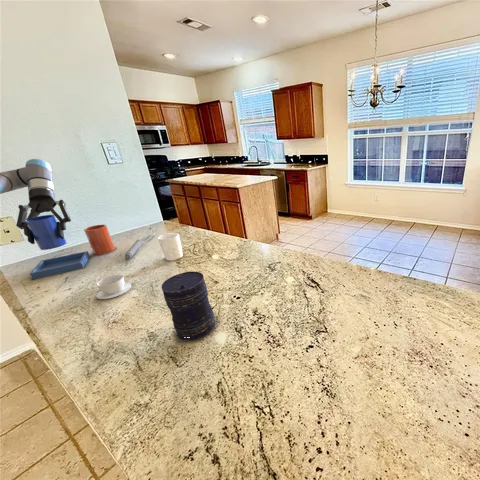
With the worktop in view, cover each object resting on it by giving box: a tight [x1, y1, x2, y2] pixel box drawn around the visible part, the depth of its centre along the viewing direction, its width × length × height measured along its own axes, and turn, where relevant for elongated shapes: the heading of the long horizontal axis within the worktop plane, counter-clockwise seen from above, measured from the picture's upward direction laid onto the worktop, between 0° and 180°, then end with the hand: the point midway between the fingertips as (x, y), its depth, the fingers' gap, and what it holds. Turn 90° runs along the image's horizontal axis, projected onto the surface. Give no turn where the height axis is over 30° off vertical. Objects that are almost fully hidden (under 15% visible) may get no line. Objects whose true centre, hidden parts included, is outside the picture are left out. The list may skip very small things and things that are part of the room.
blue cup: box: [26, 214, 67, 251], centre depth 105 cm, size 8×8×12 cm
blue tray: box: [29, 250, 90, 280], centre depth 111 cm, size 16×14×3 cm
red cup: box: [83, 223, 116, 256], centre depth 122 cm, size 8×8×12 cm
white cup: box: [157, 232, 184, 261], centre depth 113 cm, size 8×8×10 cm
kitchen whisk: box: [123, 224, 157, 261], centre depth 127 cm, size 6×34×6 cm, turn 14°
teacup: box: [95, 274, 132, 300], centre depth 90 cm, size 10×10×5 cm
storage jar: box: [160, 271, 216, 342], centre depth 68 cm, size 10×10×18 cm
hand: (46, 239), depth 103 cm, fingers closed on blue cup, 8 cm apart
